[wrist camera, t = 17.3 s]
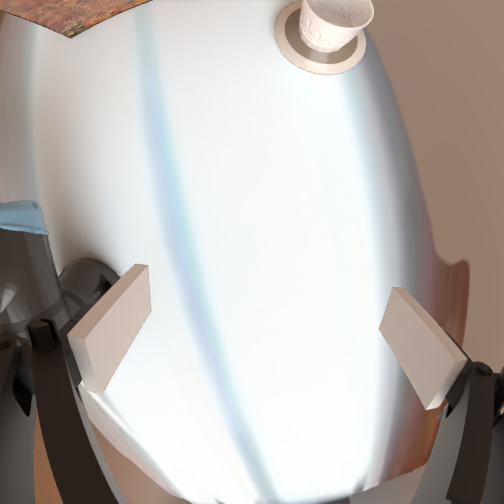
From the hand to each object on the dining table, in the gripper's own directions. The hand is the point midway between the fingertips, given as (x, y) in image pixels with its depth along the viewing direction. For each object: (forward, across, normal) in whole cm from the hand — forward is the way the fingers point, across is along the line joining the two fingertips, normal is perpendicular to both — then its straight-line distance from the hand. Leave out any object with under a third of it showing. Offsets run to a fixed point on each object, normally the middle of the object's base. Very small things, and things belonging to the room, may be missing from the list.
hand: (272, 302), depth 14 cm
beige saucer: (+26, -6, -27) cm, 38 cm away
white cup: (+25, -6, -27) cm, 37 cm away
